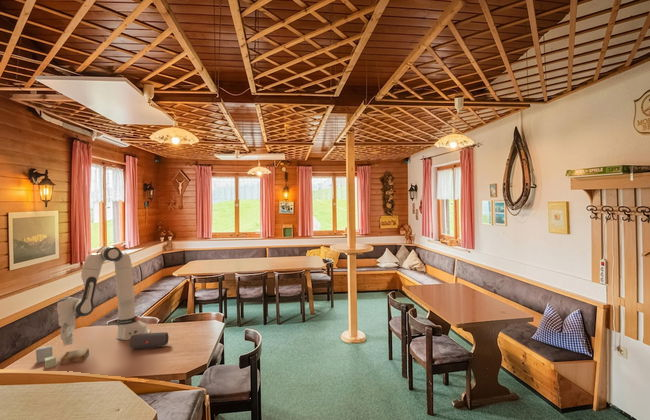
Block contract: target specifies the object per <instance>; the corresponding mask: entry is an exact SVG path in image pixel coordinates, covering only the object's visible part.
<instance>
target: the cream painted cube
mask: <svg viewBox="0 0 650 420" xmlns="http://www.w3.org/2000/svg"><path fill="white" fill-rule="evenodd" d="M74 343H75V334H74V333H72V335H70V336H69V343H66V342H65V339H64V340H62V344H63V347H64V346H71V345H73V344H74Z"/></svg>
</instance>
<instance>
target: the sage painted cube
mask: <svg viewBox="0 0 650 420" xmlns="http://www.w3.org/2000/svg"><path fill="white" fill-rule="evenodd" d="M53 366H54V367H57V358H56V355H53V356H52V357H48V358H45V362H44V367H46V368H47V369H50V368H53ZM49 367H50V368H49ZM46 368H45V369H46Z"/></svg>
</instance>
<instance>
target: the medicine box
mask: <svg viewBox="0 0 650 420" xmlns="http://www.w3.org/2000/svg"><path fill="white" fill-rule="evenodd" d="M35 355H36V356H35V357H36V358H35V359H36V364H41V363H45V358H48V357H52V356H54V355H53V345H52V344H50V345H46V346H40V347H37V348H36V349H35Z"/></svg>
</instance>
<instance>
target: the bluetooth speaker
mask: <svg viewBox="0 0 650 420" xmlns="http://www.w3.org/2000/svg"><path fill="white" fill-rule="evenodd" d="M169 338H170V337H169V333H168V332H167V331H165V332H150V333H146V334H137V335H132V336H131V338H130V339H129V348H130V349H141V350H147V349H150V350H151V349H156V348H158V347H162V346H167V345H168V343H169Z"/></svg>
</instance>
